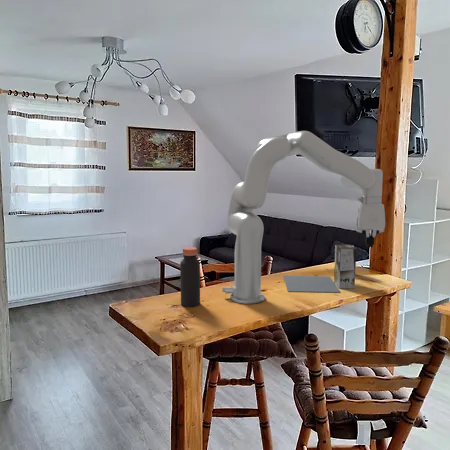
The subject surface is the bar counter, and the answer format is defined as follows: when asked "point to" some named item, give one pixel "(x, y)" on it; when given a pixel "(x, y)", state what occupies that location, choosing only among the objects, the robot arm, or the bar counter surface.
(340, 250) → the coffee box
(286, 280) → the mat
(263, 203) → the robot arm
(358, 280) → the bar counter surface
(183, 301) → the black water bottle
